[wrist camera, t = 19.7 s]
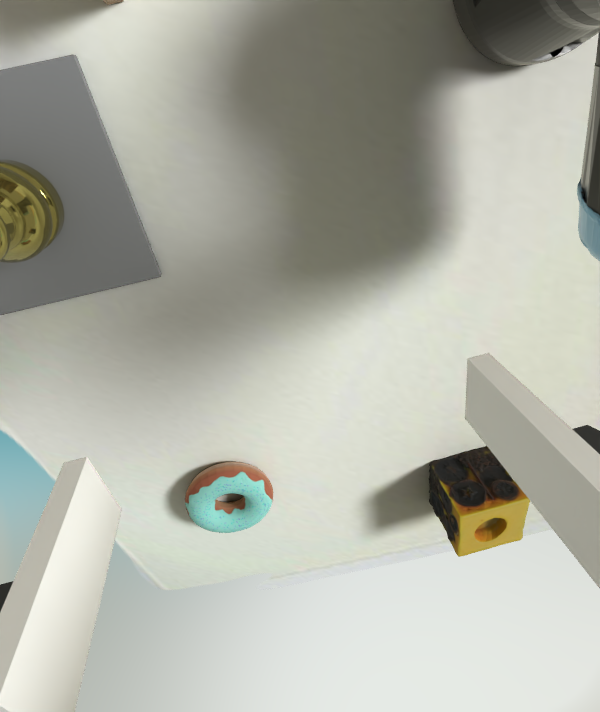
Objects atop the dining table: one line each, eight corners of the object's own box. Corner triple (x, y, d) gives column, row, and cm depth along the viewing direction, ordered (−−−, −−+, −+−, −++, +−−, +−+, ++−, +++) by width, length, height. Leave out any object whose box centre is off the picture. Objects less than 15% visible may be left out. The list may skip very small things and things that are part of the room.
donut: (287, 485, 61) (292, 508, 57) (224, 525, 63) (225, 549, 60) (235, 441, 55) (236, 463, 51) (167, 487, 57) (164, 511, 53)
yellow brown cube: (490, 443, 63) (533, 495, 55) (486, 486, 69) (524, 540, 60) (427, 460, 63) (459, 515, 54) (428, 502, 68) (458, 558, 60)
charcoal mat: (161, 273, 41) (160, 276, 41) (-20, 317, 41) (-24, 321, 40) (76, 55, 32) (73, 54, 31) (-164, 106, 31) (-172, 106, 30)
